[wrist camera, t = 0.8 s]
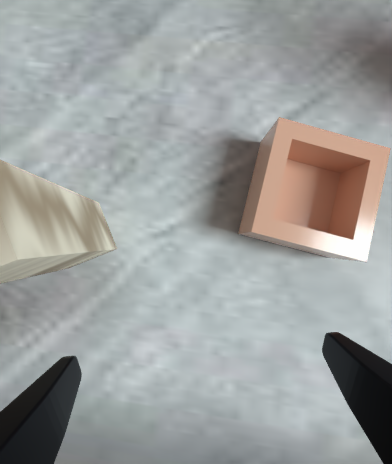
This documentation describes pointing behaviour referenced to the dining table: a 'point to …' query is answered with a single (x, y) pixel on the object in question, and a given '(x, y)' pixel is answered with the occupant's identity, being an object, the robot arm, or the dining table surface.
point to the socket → (315, 191)
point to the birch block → (46, 226)
